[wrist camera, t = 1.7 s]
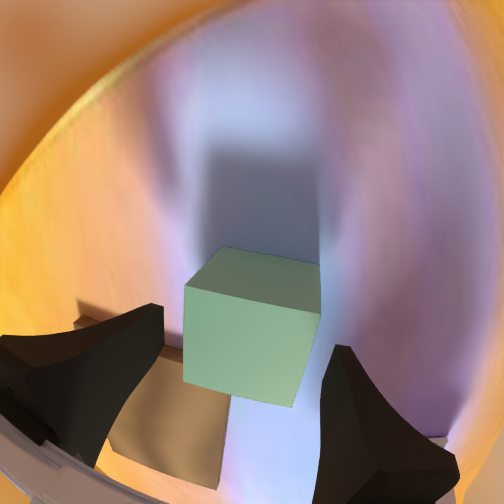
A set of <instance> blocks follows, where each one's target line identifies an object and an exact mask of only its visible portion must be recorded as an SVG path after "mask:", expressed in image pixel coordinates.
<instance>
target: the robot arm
mask: <svg viewBox="0 0 504 504" xmlns="http://www.w3.org/2000/svg"><path fill="white" fill-rule="evenodd" d="M164 345H165V341H164V306H160V305H157V304H153V303H150V304H146V305H144V306H141V307H139V308H136V309H134V310H131V311H129V312H127V313H124V314H122V315H119V316H117V317H114V318H112V319H109V320H106V321H103V322H101V323H98V324H95V325H92V326H89V327H85V328H82V329H77V330H73V331H69V332H63V333H56V334H50V335H37V336H17V335H2V336H1V337H0V472H1V473H2V474H3V475H4V476H5V477H6V478H7V479H9V480H10V481H11V482H12V483H13V484H14V485H15V486H16V487H18V488H19V489H20V490H21V491H22V492H23V493H24V494H26V495H27V496H28V497H29V498H30V499H32V500H31V502H30V503H29V504H169V503H166V502H164V501H161V500H158V499H156V498H153V497H151V496H148V495H146V494H144V493H141V492H139V491H137V490H134V489H132V488H130V487H128V486H126V485H123V484H121V483H119V482H117V481H115V480H113V479H111V478H109V477H107V476H105V475H103V474H102V473H100V472H98V471H96V470H94V467H95V464H96V461H97V459H98V456H99V454H100V451H101V449H102V447H103V445H104V442H105V440H106V438H107V436H108V434H109V432H110V430H111V428H112V426H113V424H114V422H115V420H116V418H117V416H118V414H119V413H120V411H121V409H122V407H123V405H124V404H125V402H126V401H127V399H128V398H129V396H130V395H131V394H132V392H133V391H134V390H135V388H136V387H137V386H138V384H139V383H140V382H141V380H142V379H143V378H144V376H145V375H146V374H147V372H148V371H149V370H150V368H151V367H152V366H153V364H154V363H155V361H156V360H157V358H158V356H159V354H160V352H161V350H162V348H163V347H164ZM320 439H321V446H320V459H319V466H318V473H317V479H316V485H315V491H314V496H313V500H312V504H456V499H455V493H454V488H453V487H454V486H456V484H457V483H458V481H459V479H460V473H459V469H458V465H457V461H456V458H455V455H454V454H452V453H450V452H449V451H447V450H445V449H444V447H445V445H446V444H447V443H448V438H446V437H442V438H426V437H425V436H423V435H422V434H421V433H419V432H418V431H417V430H416V429H414V428H413V427H412V426H411V425H410V424H409V423H408V422H407V421H405V420H404V419H403V418H402V417H401V416H400V415H399V414H398V413H397V412H396V411H395V410H394V408H393V407H392V406H391V405H390V404H389V403H388V402H387V401H386V399H385V398H384V397H383V396H382V394H381V393H380V392H379V390H378V389H377V388H376V386H375V385H374V384H373V382H372V381H371V379H370V378H369V376H368V375H367V373H366V372H365V370H364V369H363V367H362V365H361V364H360V362H359V360H358V359H357V357H356V355H355V354H354V352H353V350H352V349H351V347H350V346H343V345H337V344H336V345H335V348H334V350H333V353H332V356H331V359H330V362H329V364H328V367H327V370H326V372H325V375H324V378H323V380H322V388H321V397H320Z"/></svg>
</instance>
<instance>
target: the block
mask: <svg viewBox="0 0 504 504" xmlns="http://www.w3.org/2000/svg"><path fill="white" fill-rule="evenodd" d="M320 317H321V285H320V265H318V264H313V263H307V262H302V261H297V260H292V259H287V258H282V257H276V256H271V255H266V254H261V253H256V252H250V251H245V250H240V249H235V248H230V247H224V246H222V247H221V248H220V249H219V250H218V251H217V252H216V253H215V254H214V255H213V257H212V258H211V259H210V260H209V261H208V262H207V263H206V264H205V265H204V266H203V267H202V268H201V269H200V270H199V271H198V272H197V273H196V274H195V275H194V276H193V277H192V278H191V279H190V280H189V281H188V282H187V283H186V284H185V285H184V316H183V381H184V382H187V383H190V384H194V385H197V386H200V387H204V388H207V389H211V390H215V391H218V392H222V393H226V394H230V395H234V396H238V397H242V398H246V399H251V400H255V401H260V402H264V403H269V404H274V405H279V406H285V407H290V408H292V406H293V403H294V400H295V397H296V394H297V391H298V388H299V385H300V382H301V379H302V376H303V373H304V370H305V367H306V364H307V361H308V358H309V354H310V351H311V348H312V345H313V341H314V338H315V334H316V331H317V328H318V324H319V321H320Z"/></svg>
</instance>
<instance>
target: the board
mask: <svg viewBox="0 0 504 504" xmlns="http://www.w3.org/2000/svg"><path fill="white" fill-rule="evenodd" d="M98 323H100V322H98V321H95V320H93V319H90V318H88V317H86V316H81V317H80V318H79V319H77V320H76V321H75V322H74V323H73V324H74V329H75V330H77V329H82V328H85V327H89V326H92V325H95V324H98ZM230 401H231V395H230V394H226V393H222V392H218V391H215V390H211V389H207V388H204V387H200V386H197V385H194V384H190V383H187V382H184V381H183V351H182V350H178V349H175V348H172V347H169V346H165V345H164V347H163V348H162V350H161V352H160V354H159V356H158V358H157V360H156V361H155V363H154V364H153V366H152V367H151V368H150V370H149V371H148V372H147V374H146V375H145V376H144V378H143V379H142V380H141V382H140V383H139V384H138V386H137V387H136V388H135V390H134V391H133V392H132V394H131V395H130V396H129V398H128V399H127V401H126V402H125V404H124V405H123V407H122V409H121V411H120V413H119V414H118V416H117V418H116V420H115V422H114V424H113V426H112V428H111V430H110V432H109V434H108V436H107V438H108V440H109V443H110V445H111V447H112V450H113V451H114V452H116V453H118V454H120V455H122V456H124V457H126V458H128V459H131V460H133V461H135V462H137V463H140V464H142V465H144V466H147V467H149V468H152V469H154V470H157V471H159V472H162V473H164V474H167V475H170V476H172V477H175V478H178V479H181V480H184V481H187V482H190V483H193V484H196V485H200V486H203V487H207V488H210V489H214V490H217V487H218V484H219V481H220V474H221V467H222V459H223V452H224V445H225V437H226V430H227V423H228V415H229V408H230Z"/></svg>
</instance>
